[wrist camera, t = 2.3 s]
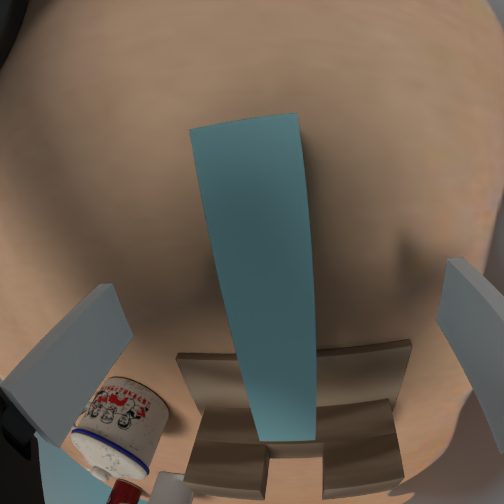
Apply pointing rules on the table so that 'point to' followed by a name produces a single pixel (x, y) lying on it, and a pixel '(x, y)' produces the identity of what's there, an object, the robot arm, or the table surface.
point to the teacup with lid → (121, 430)
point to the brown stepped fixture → (327, 424)
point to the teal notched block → (264, 264)
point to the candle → (171, 490)
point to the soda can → (124, 493)
